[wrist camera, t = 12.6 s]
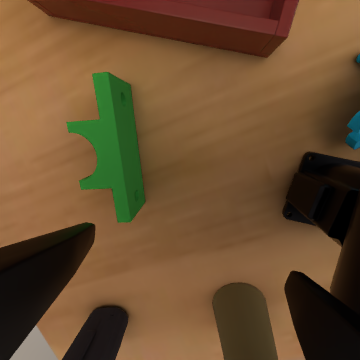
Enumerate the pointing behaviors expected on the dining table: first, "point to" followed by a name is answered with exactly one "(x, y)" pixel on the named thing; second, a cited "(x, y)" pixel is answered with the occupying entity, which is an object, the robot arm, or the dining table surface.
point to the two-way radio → (99, 336)
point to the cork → (243, 323)
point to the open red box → (188, 20)
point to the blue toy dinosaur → (354, 127)
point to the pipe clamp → (114, 146)
